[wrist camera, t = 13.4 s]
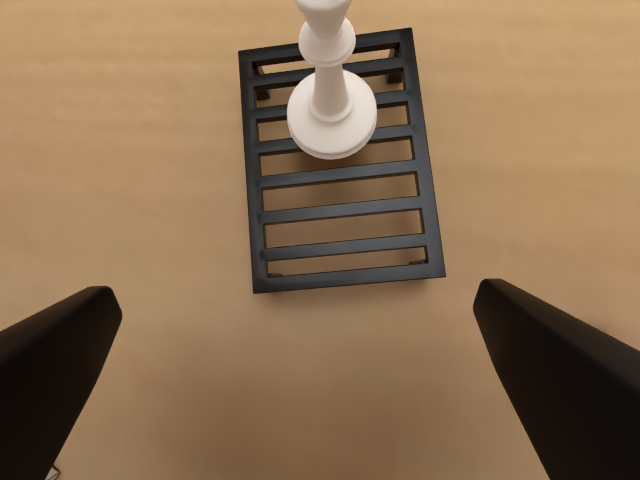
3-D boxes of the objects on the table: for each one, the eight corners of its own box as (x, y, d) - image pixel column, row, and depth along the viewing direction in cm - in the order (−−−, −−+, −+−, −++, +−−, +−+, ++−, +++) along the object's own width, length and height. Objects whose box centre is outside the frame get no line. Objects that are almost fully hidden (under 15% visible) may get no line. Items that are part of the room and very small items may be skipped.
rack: (427, 276, 19) (446, 276, 16) (268, 290, 20) (252, 294, 16) (400, 68, 21) (412, 26, 17) (254, 87, 21) (237, 50, 18)
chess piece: (332, 178, 17) (319, 33, 7) (269, 119, 17) (172, -92, 7) (395, 114, 17) (474, -119, 7) (331, 58, 17) (317, -229, 7)
